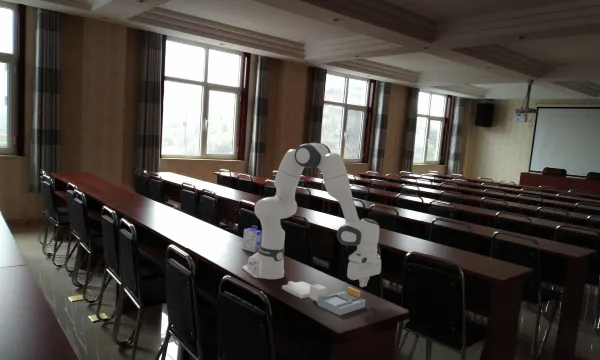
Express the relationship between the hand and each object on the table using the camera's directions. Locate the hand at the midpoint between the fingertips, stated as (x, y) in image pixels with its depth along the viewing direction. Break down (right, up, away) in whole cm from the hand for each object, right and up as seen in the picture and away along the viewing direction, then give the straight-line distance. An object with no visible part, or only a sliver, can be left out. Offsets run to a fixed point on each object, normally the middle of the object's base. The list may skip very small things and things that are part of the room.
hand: (363, 286), depth 191 cm
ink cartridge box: (-57, +5, +63) cm, 85 cm away
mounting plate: (-27, -4, +5) cm, 28 cm away
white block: (-21, -5, -6) cm, 22 cm away
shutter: (-7, -3, -6) cm, 10 cm away
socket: (-11, -6, -9) cm, 15 cm away
